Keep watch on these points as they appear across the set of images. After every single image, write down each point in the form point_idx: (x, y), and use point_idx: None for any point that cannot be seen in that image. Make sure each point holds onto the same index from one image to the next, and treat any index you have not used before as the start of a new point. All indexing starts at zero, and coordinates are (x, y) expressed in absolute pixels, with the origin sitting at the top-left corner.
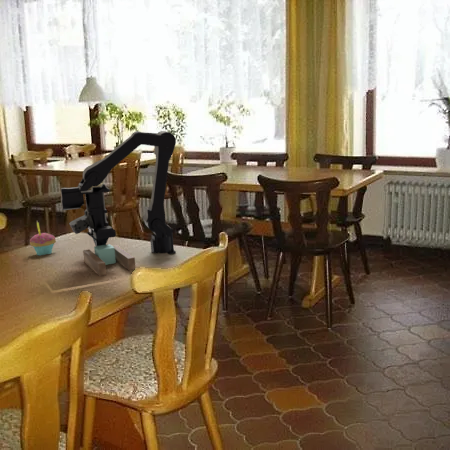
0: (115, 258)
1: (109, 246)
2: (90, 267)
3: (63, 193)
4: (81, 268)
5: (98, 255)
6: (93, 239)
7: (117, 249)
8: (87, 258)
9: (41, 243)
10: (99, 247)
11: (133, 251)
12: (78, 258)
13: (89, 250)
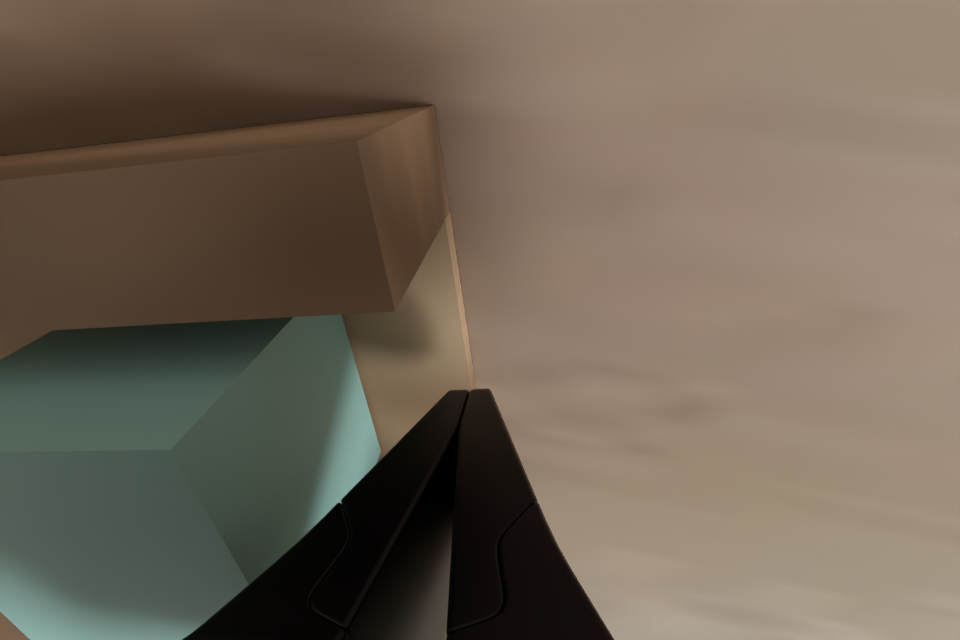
0: None
1: (121, 631)
2: (41, 153)
3: None
4: (176, 9)
5: (9, 371)
6: (525, 629)
7: None
8: (63, 161)
9: None
10: (71, 512)
11: (646, 637)
12: (894, 49)
13: (286, 297)
